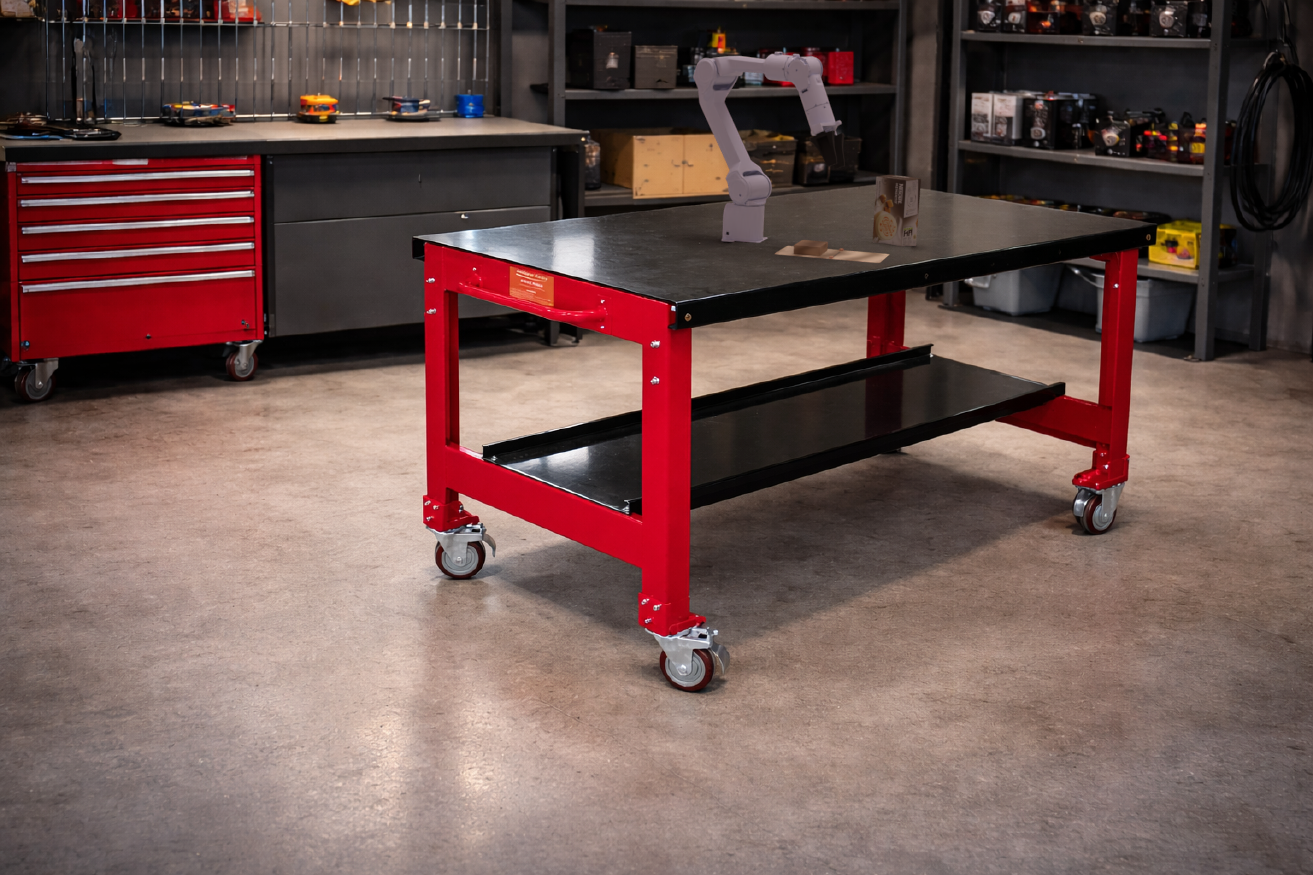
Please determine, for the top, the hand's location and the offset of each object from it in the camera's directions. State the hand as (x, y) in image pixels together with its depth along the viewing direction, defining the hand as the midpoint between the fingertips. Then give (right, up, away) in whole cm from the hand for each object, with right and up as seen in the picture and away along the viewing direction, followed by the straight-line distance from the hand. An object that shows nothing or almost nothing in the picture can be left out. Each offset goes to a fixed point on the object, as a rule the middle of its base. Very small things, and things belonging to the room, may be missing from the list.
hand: (836, 166), depth 305 cm
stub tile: (-5, -18, +5) cm, 20 cm away
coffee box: (+17, -15, +22) cm, 31 cm away
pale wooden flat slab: (-1, -20, +4) cm, 20 cm away
